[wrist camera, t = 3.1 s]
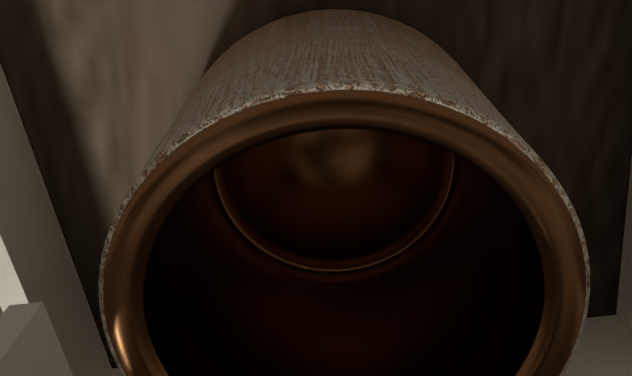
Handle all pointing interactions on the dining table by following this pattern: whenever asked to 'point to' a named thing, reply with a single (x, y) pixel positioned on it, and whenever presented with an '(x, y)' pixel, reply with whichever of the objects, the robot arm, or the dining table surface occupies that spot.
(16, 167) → the case
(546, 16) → the dining table surface
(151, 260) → the planter
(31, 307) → the robot arm
